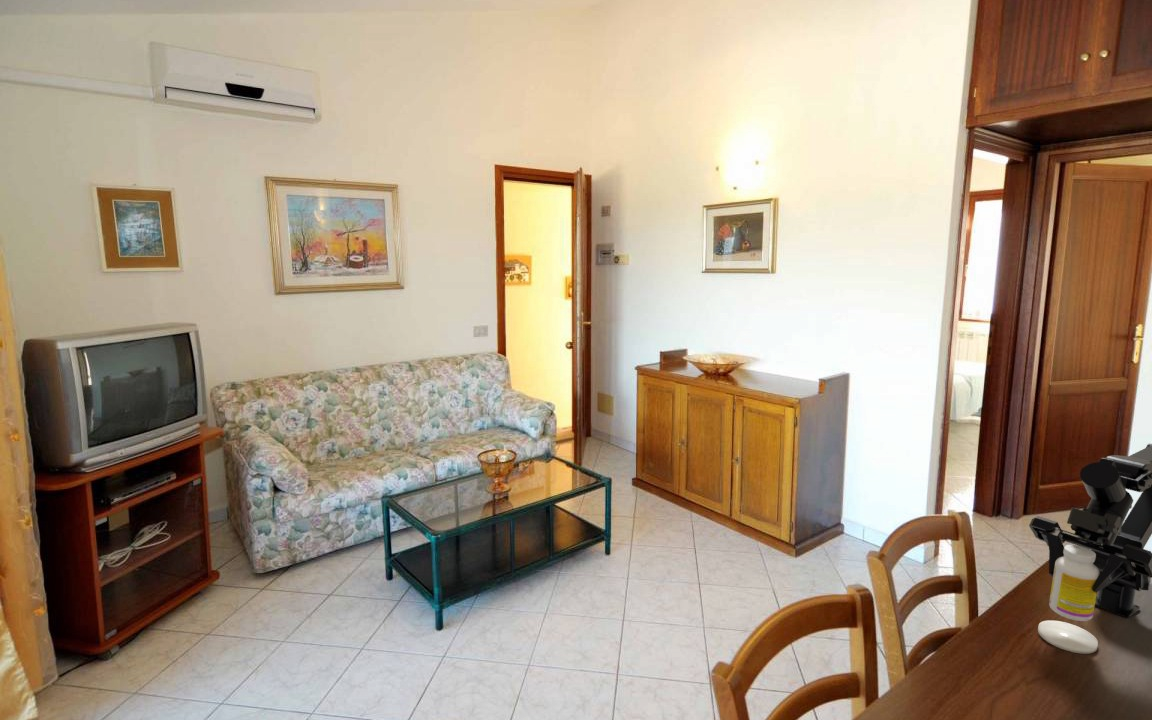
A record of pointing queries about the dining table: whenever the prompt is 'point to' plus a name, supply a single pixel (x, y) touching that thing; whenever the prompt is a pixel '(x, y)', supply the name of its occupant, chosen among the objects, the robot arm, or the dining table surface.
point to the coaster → (1068, 637)
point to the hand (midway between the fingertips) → (1071, 582)
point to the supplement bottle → (1074, 584)
